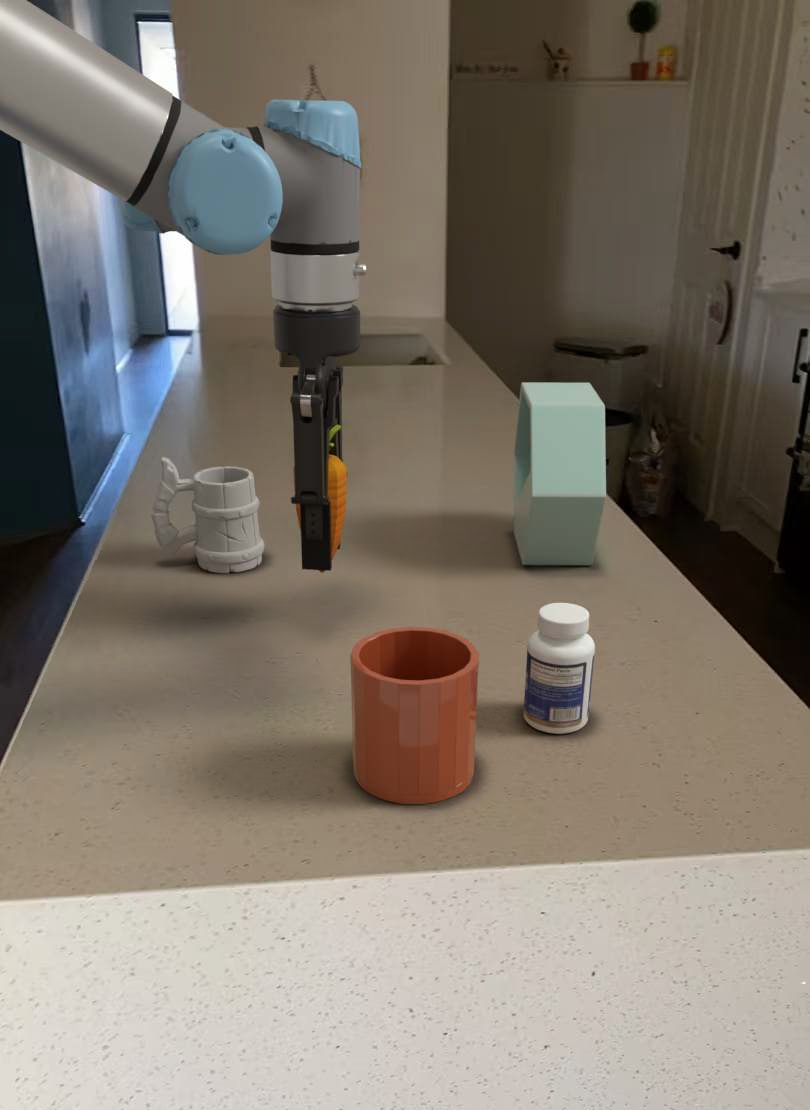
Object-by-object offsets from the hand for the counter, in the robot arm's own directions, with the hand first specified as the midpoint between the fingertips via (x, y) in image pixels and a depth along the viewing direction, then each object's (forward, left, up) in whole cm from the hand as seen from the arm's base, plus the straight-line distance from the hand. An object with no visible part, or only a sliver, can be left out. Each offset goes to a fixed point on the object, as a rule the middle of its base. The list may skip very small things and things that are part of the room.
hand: (321, 557), depth 105 cm
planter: (+23, +22, -7) cm, 32 cm away
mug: (-15, +13, -7) cm, 21 cm away
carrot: (0, 0, -2) cm, 2 cm away
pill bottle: (+22, -18, -7) cm, 29 cm away
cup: (+11, -27, -6) cm, 30 cm away
